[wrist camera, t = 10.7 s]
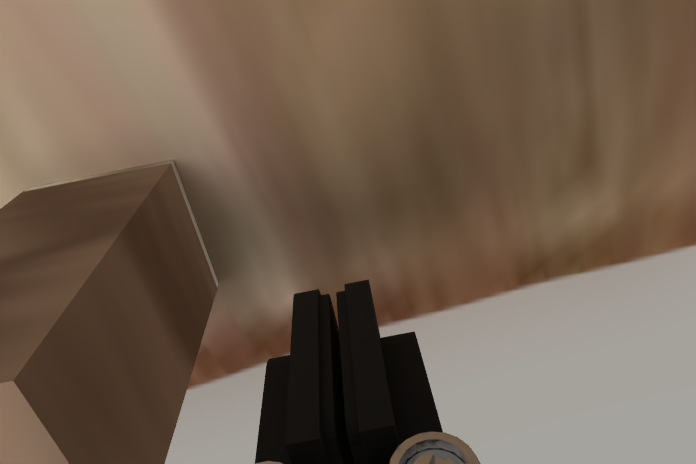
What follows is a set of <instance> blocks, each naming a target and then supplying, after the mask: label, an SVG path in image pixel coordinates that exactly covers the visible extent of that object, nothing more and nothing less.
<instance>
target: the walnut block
mask: <svg viewBox="0 0 696 464" xmlns="http://www.w3.org/2000/svg"><path fill="white" fill-rule="evenodd" d="M218 284H219V283H218V281H217V278H216V275H215V272H214V270H213V267H212V264H211V261H210V259H209V256H208V253H207V251H206V248H205V245H204V242H203V240H202V237H201V234H200V231H199V229H198V226H197V223H196V220H195V218H194V215H193V212H192V210H191V207H190V204H189V201H188V199H187V196H186V193H185V190H184V188H183V185H182V182H181V179H180V177H179V174H178V171H177V169H176V166H175V163H174V160H170V161H165V162H159V163H154V164H149V165H144V166H139V167H134V168H129V169H123V170H118V171H113V172H108V173H103V174H98V175H93V176H88V177H82V178H77V179H72V180H67V181H62V182H57V183H52V184H46V185H41V186H36V187H31V188H27V189H26V190H24V191H23V192H22V193H21V194H19V195H18V196H17V197H16V198H14V199H13V200H12V201H10V202H9V203H8V204H7V205H5V206H4V207H3V208H1V209H0V464H164V463H165V460H166V456H167V453H168V449H169V446H170V443H171V440H172V437H173V433H174V430H175V427H176V423H177V420H178V417H179V413H180V410H181V406H182V403H183V400H184V397H185V393H186V390H187V387H188V384H189V380H190V377H191V374H192V370H193V367H194V364H195V360H196V357H197V354H198V350H199V347H200V344H201V340H202V337H203V334H204V330H205V327H206V324H207V320H208V317H209V314H210V311H211V307H212V304H213V301H214V297H215V294H216V291H217V287H218Z"/></svg>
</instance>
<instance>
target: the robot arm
mask: <svg viewBox="0 0 696 464" xmlns="http://www.w3.org/2000/svg"><path fill="white" fill-rule="evenodd" d="M336 296H337V310H338V324H339V330H338V326H337V322H336V318H335V314H334V310H333V306H332V302H331V298H330V295H329V294H326V295H321V294H320V291H319V289H317V290H312V291H307V292H302V293H296V294H294V300H293V317H292V334H291V350H290V355H288V356H282V357H277V358H272V359H269V360H268V362H267V366H266V375H265V384H264V392H263V400H262V408H261V417H260V425H259V435H258V443H257V451H256V459H255V464H480V462H479V460H478V458H477V456H476V455H475V454H474V452H473V451H472V449H471V448H470V447H469V446H468V445H467V444H466V443H465V442H463V441H462V440H460V439H459V438H458V437H455V436H453V435H450V434H447V433H443V431H442V428H441V424H440V421H439V417H438V413H437V410H436V407H435V403H434V399H433V395H432V392H431V388H430V385H429V381H428V378H427V374H426V370H425V367H424V363H423V359H422V356H421V352H420V349H419V345H418V342H417V338H416V335H415V332H410V333H405V334H399V335H395V336H389V337H383V338H380V334H379V329H378V324H377V319H376V314H375V309H374V304H373V299H372V294H371V289H370V284H369V280H364V281H359V282H354V283H348V284H345V291H341V292H337V293H336Z"/></svg>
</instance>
